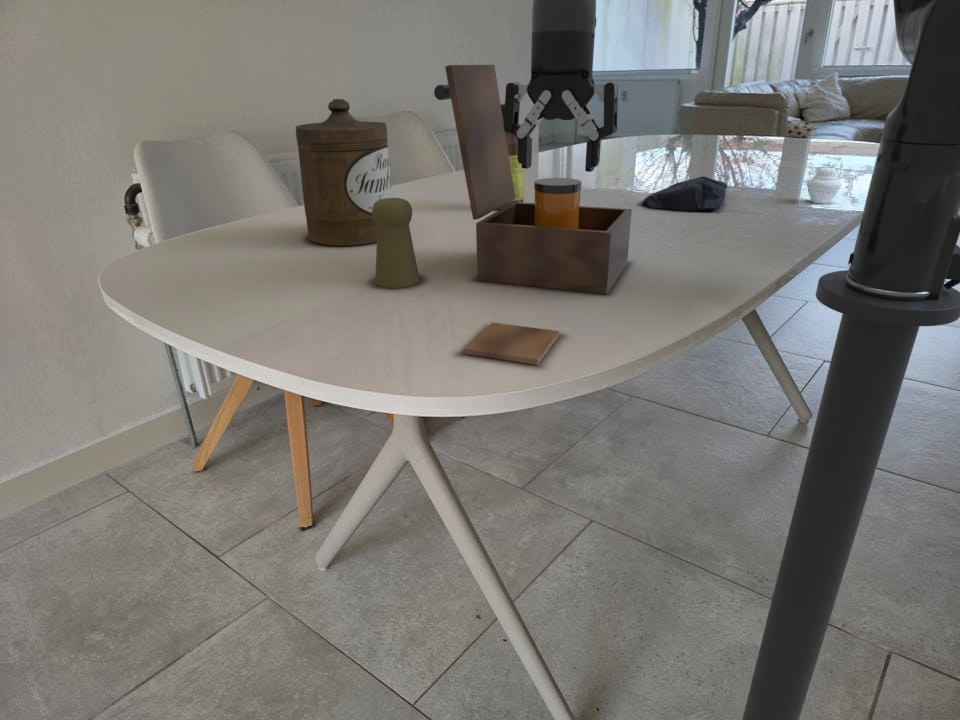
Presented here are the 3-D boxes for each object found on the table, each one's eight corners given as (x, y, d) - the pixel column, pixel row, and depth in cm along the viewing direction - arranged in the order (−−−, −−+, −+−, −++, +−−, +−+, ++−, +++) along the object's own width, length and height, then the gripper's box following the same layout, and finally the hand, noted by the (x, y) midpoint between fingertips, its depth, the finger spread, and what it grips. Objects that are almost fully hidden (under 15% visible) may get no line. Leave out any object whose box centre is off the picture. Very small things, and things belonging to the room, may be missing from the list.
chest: (627, 263, 90) (631, 208, 87) (606, 294, 78) (611, 232, 74) (512, 252, 96) (513, 201, 93) (477, 280, 84) (475, 223, 81)
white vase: (819, 198, 130) (826, 163, 127) (844, 203, 125) (852, 167, 122) (796, 200, 128) (803, 165, 125) (820, 206, 123) (828, 169, 120)
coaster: (559, 336, 66) (559, 331, 66) (537, 365, 60) (537, 359, 59) (492, 327, 69) (492, 322, 68) (465, 354, 62) (465, 348, 62)
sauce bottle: (528, 206, 128) (530, 102, 119) (516, 212, 123) (517, 104, 114) (500, 204, 131) (499, 102, 122) (486, 209, 126) (485, 103, 117)
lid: (494, 64, 86) (462, 72, 88) (450, 64, 74) (414, 73, 76) (515, 198, 92) (485, 202, 94) (478, 219, 80) (444, 223, 82)
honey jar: (582, 262, 88) (586, 178, 83) (570, 274, 83) (575, 186, 78) (540, 258, 90) (542, 176, 85) (526, 270, 85) (528, 184, 80)
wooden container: (379, 247, 100) (366, 100, 91) (294, 245, 103) (272, 101, 93) (405, 226, 113) (396, 96, 104) (329, 224, 116) (314, 97, 106)
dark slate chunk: (737, 194, 135) (740, 172, 133) (716, 214, 118) (720, 188, 116) (666, 189, 142) (669, 168, 140) (637, 207, 125) (640, 183, 123)
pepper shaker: (416, 272, 88) (411, 193, 83) (422, 285, 82) (417, 201, 78) (373, 276, 86) (366, 196, 82) (376, 289, 81) (368, 204, 76)
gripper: (496, 29, 73) (496, 171, 80) (616, 25, 68) (606, 176, 75) (517, 32, 80) (515, 163, 87) (628, 28, 75) (617, 167, 82)
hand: (557, 169), depth 81 cm, fingers open, 8 cm apart
